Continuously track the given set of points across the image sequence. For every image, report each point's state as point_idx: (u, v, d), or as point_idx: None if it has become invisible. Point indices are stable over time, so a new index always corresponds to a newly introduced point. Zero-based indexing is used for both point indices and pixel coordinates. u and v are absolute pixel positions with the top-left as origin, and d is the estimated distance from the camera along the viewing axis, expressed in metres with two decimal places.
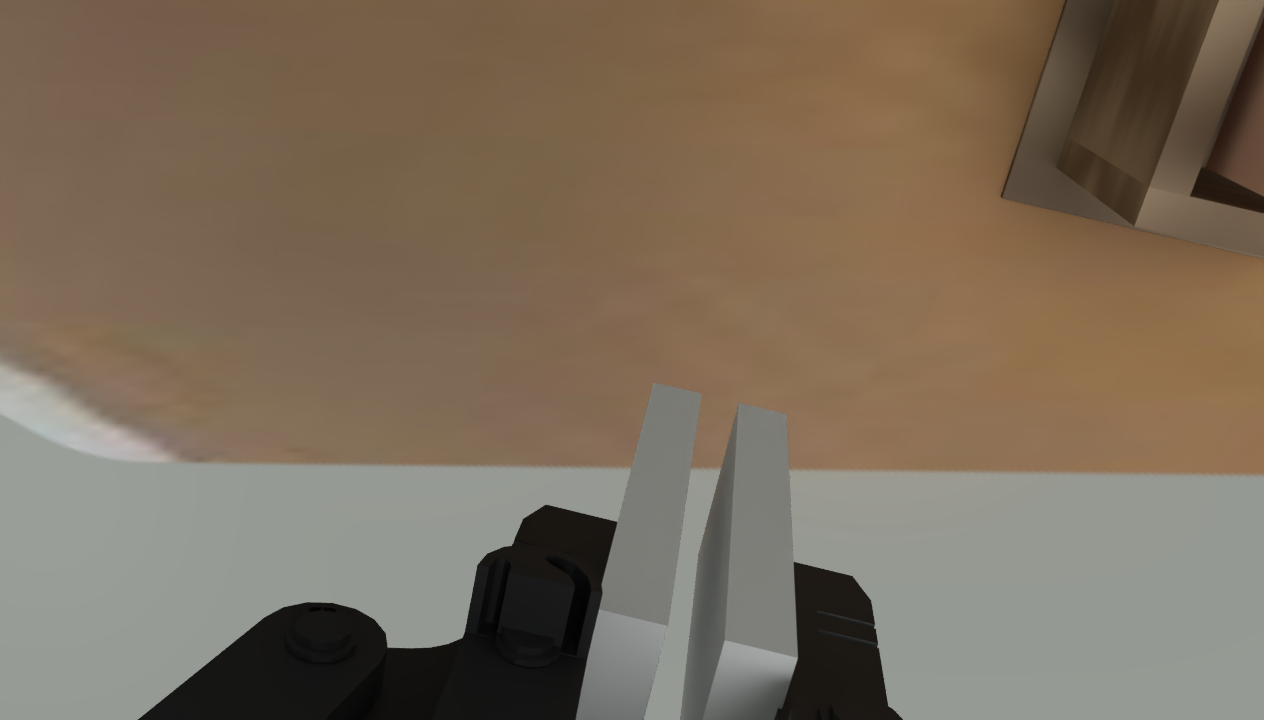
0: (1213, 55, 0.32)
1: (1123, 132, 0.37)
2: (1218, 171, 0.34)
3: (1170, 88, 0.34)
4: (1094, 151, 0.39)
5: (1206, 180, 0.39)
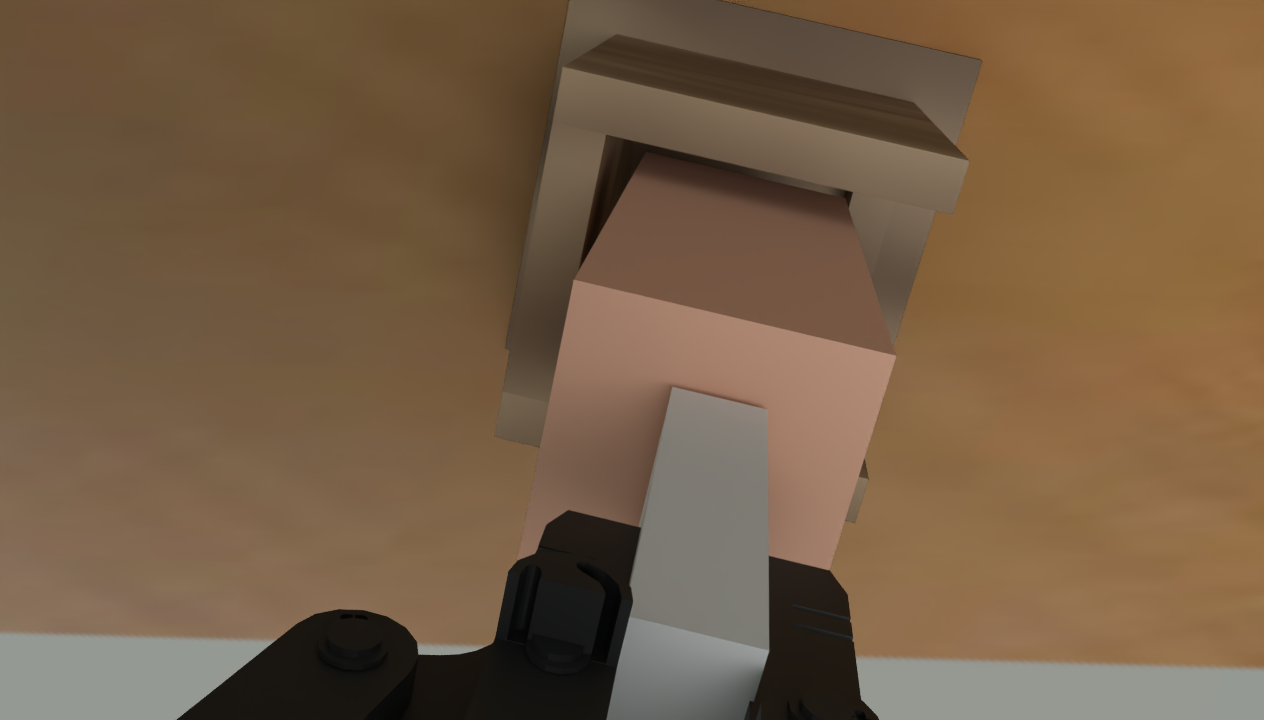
0: (548, 239, 0.26)
1: None
2: None
3: None
4: None
5: None
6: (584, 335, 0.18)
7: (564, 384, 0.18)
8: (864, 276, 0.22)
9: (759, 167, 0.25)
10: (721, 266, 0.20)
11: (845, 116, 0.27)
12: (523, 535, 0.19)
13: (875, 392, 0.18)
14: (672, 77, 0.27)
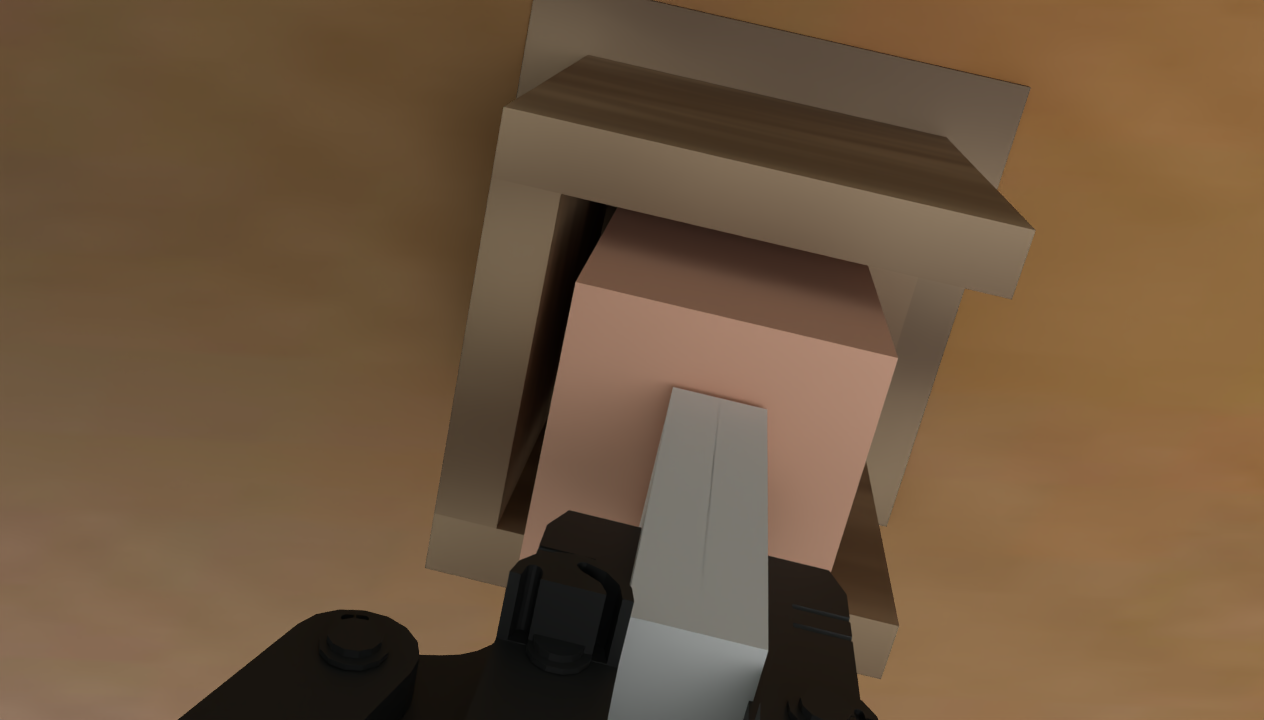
0: (488, 326, 0.20)
1: None
2: None
3: None
4: None
5: None
6: (586, 337, 0.18)
7: (565, 386, 0.18)
8: (865, 278, 0.22)
9: (760, 236, 0.19)
10: (722, 268, 0.20)
11: (869, 165, 0.21)
12: (525, 537, 0.19)
13: (878, 394, 0.18)
14: (649, 116, 0.21)
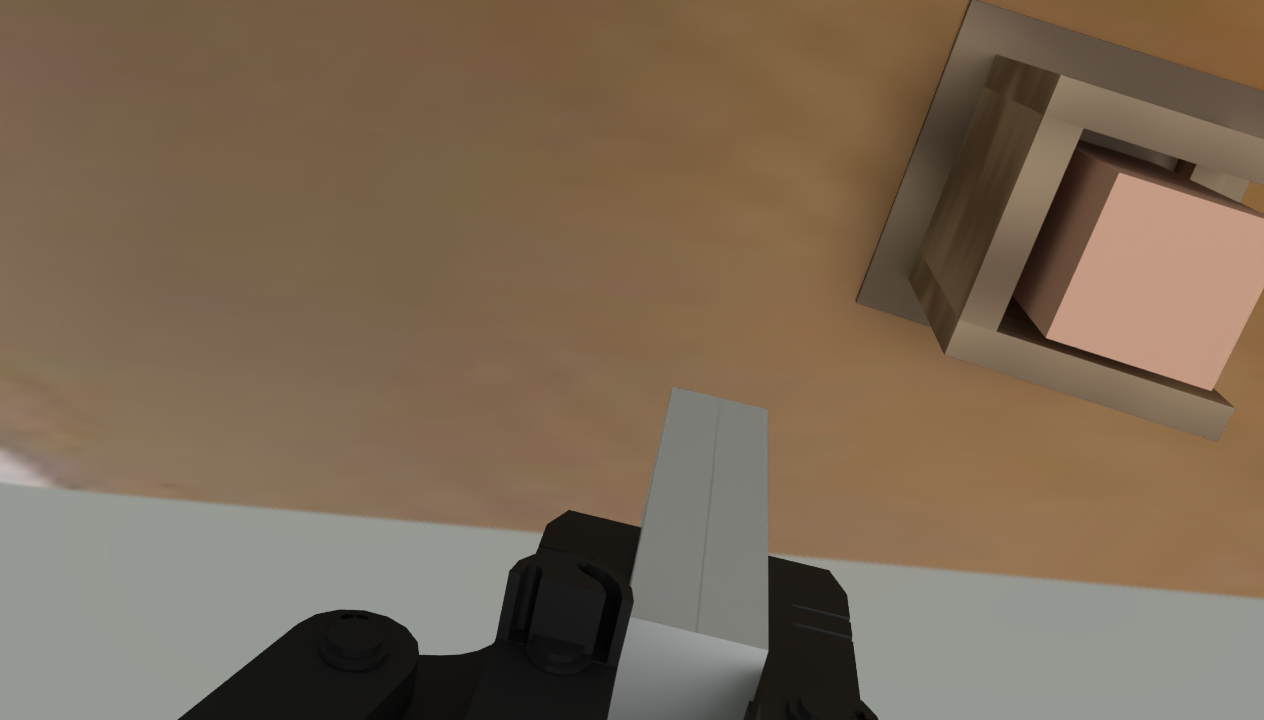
0: (1021, 204, 0.35)
1: (952, 259, 0.39)
2: None
3: (986, 228, 0.36)
4: (932, 271, 0.41)
5: None
6: (1117, 205, 0.32)
7: (1099, 233, 0.32)
8: (1229, 198, 0.36)
9: (1196, 162, 0.34)
10: (1164, 180, 0.34)
11: None
12: (1053, 322, 0.33)
13: None
14: None
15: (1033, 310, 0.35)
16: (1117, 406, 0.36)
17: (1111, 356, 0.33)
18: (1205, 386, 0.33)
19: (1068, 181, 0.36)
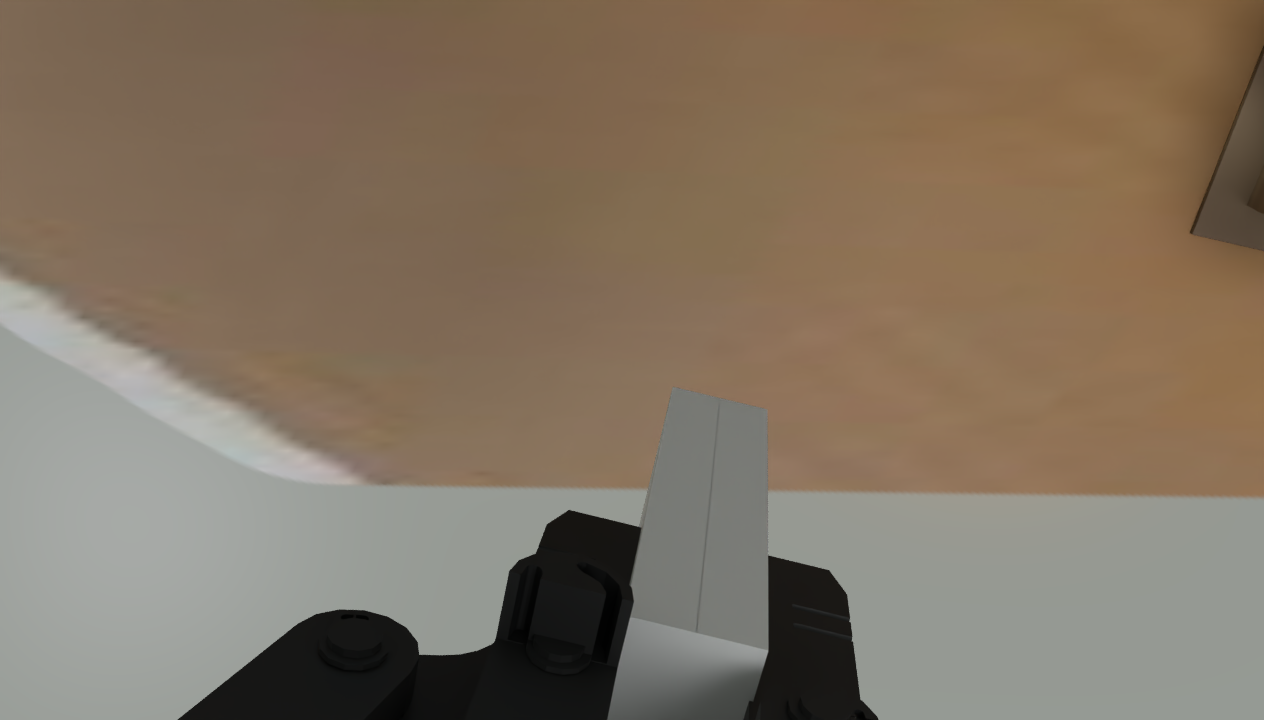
0: None
1: None
2: None
3: None
4: None
5: None
6: None
7: None
8: None
9: None
10: None
11: None
12: None
13: None
14: None
15: None
16: None
17: None
18: None
19: None
